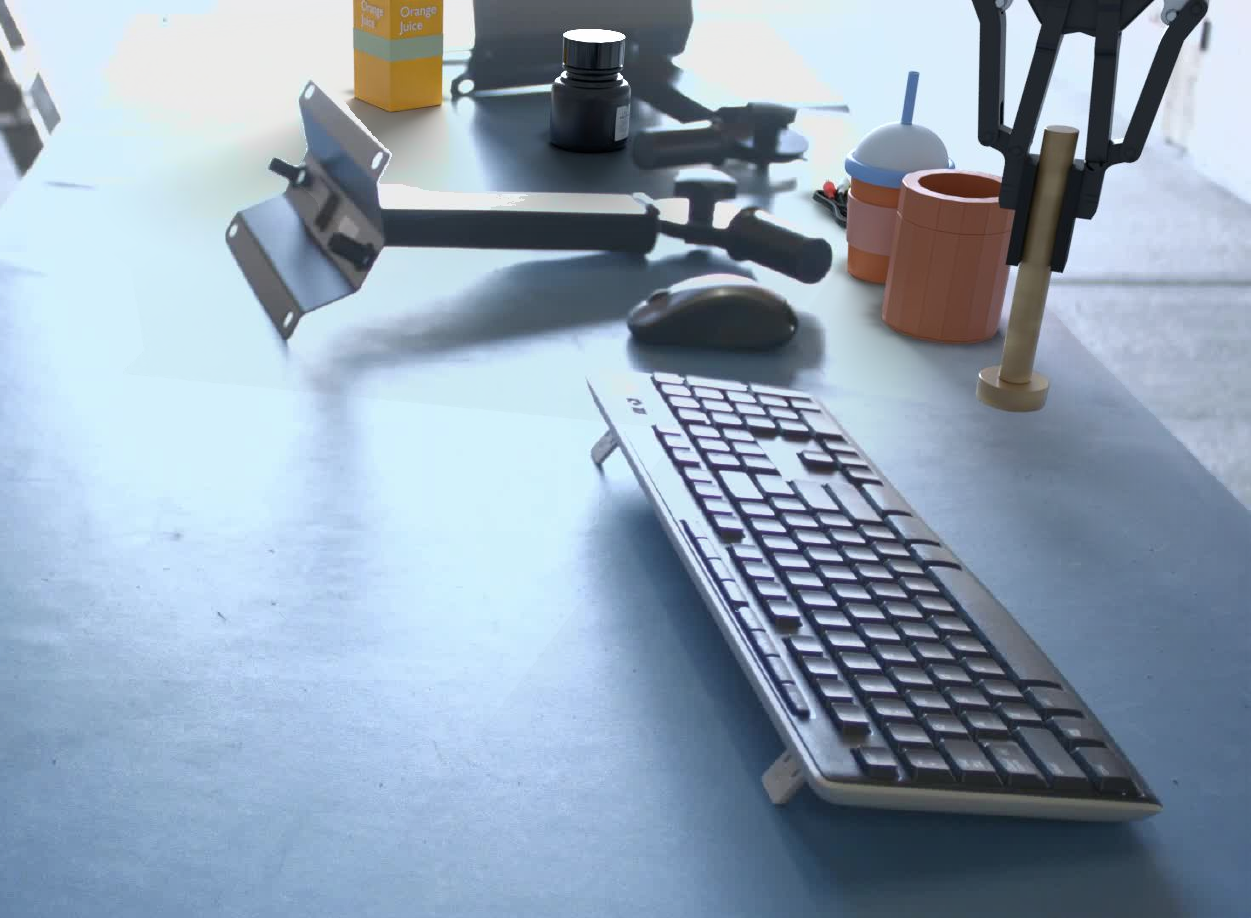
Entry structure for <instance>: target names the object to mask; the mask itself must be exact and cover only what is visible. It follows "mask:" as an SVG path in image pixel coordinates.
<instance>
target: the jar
mask: <svg viewBox="0 0 1251 918" xmlns="http://www.w3.org/2000/svg"><path fill="white" fill-rule="evenodd" d="M1001 182H1002V176H999V175H995V174H992V173H987V172H982V171H976V170H967V169H959V168H958V169H957V168H955V169H931V170H921V171H916V172H913V173H910V174H907V175H906V176H905V177H904V179H903V180H902V184H901V190H900V196H899V203H898V209H897V210H898V211H897V216H896V222H895V228H894V235H893V241H892V248H891V254H890V260H889V267H888V273H887V280H886V284H885V286H884V287H885V288H884V293H883V299H882V306H881V313H880V314H881V319H882V322H883V323H884V324H885V326H887V327H889V328H890V329H892V330H894V331H895V332H897V333H898V334H901V335H905V336H907V337H910V338H914V339H918V340H921V341H925V342H926V341H927V342H932V343H940V344H949V345H950V344H953V345H956V344H957V345H961V344H962V345H963V344H974V343H981V342H985V341H987V340H990V339H992V338H993V337H994V336H996V335H997V333H998V329H999V327H1000V323H1001V318H1002V313H1003V307H1004V302H1005V297H1006V294H1007V293H1006V292H1007V287H1008V282H1009V277H1010V272H1011V267H1012V266H1010V265H1005V264H1006V258H1007V253H1008V247H1009V242H1010V237H1011V231H1012V226H1013V220H1014V215H1015V210H1010V209H1002V208H1000V205H999V201H998V199H999V193H1000V187H1001Z"/></svg>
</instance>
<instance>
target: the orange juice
mask: <svg viewBox="0 0 1251 918" xmlns="http://www.w3.org/2000/svg"><path fill="white" fill-rule="evenodd" d="M352 5H353V6H352V15H353V16H352V17H353V18H352V19H353V20H352V21H353V22H352V23H353V24H352V25H353V27H352V49H353V96H354V98H355V97H356V98H355V99H358V100H360V101H363V102H365V103H368V104H370V105H372V106H375V107H377V108H380V109H382V110H383V111H387V112H389V113H392V112H399V111H406V110H414V109H420V108H427V107H433V106H442V105H443V64H444V63H443V58H444V57H443V56H444V0H352Z"/></svg>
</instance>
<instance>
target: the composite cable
mask: <svg viewBox="0 0 1251 918" xmlns="http://www.w3.org/2000/svg"><path fill="white" fill-rule="evenodd" d="M850 188H851V180H850V179H849V178H848V177H847V176H845V177H843V178H841V179H840V180H839V182H838V184H837V187H836V186H835V184H834V182H833V181H830V180H829V179H825V181H824V183H823V185H822V189H816V190H814V193H813V195H812V197H811V198H812V199H813V201H815V202H816V203H818V204H820V205H821V206H824V207H826V208H827V209H829V210H830V211H832V213H833V215H834V219H835V222H836V223H837V225H839V226H840V227H843V228H847V207H848V191H849V189H850Z"/></svg>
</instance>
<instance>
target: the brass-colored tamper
mask: <svg viewBox="0 0 1251 918" xmlns="http://www.w3.org/2000/svg"><path fill="white" fill-rule="evenodd" d="M1079 136H1080V129H1079V128H1077V127H1073V126H1071V125H1069V126H1068V125H1060V124H1052V125H1047V126H1045V127H1044V130H1043V135H1042V140H1041V144H1040V152H1039V154H1040V156H1039V163H1038V169H1037V174H1036V179H1035V185H1034V190H1033V195H1032V201H1031V206H1030V211H1029V217H1028V222H1027V227H1026V233H1025V238H1024V243H1023V249H1022V254H1021V259H1020V263H1019V265H1018V269H1017V274H1016V280H1015V285H1014V290H1013V295H1012V299H1011V300H1012V301H1011V306H1010V310H1009V311H1010V312H1009V317H1008V323H1007V327H1006V332H1005V338H1004V343H1003V348H1002V354H1001V359H1000V365H992V366H988V367H985V368H982V369H981V370H980V371H979V373H978V378H977V383H976V389H975V397H976V399H977V400H978V401H979V402H981V403H982V404H983V405H986V406H988V407H990V408H993V409H996V410H998V411H1004V412H1011V413H1032V412H1037V411H1038V412H1039V411H1040V410H1042V409H1043V408H1045V406H1046V404H1047V401H1048V400H1047V399H1048V395H1049V390H1050V380H1049V379H1048V377H1047V376H1045V375H1044V374H1042V373H1040V372H1038V371H1036V370H1033V369H1034V364H1035V359H1036V354H1037V349H1038V345H1039V339H1040V335H1041V329H1042V324H1043V318H1044V313H1045V310H1046V309H1045V308H1046V303H1047V299H1048V293H1049V288H1050V284H1051V278H1052V274H1053V272H1051V271H1050V269H1051V264H1052V259H1053V253H1054V248H1055V243H1056V238H1057V233H1058V228H1059V223H1060V218H1061V213H1062V208H1063V202H1064V197H1065V192H1066V187H1067V182H1068V177H1069V172H1070V168H1071V166H1072V165H1073V162H1074V159H1075V156H1076V152H1077V147H1078V143H1079V142H1078V141H1079Z"/></svg>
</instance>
